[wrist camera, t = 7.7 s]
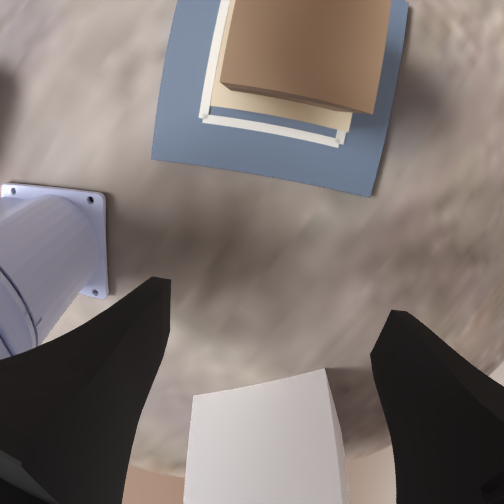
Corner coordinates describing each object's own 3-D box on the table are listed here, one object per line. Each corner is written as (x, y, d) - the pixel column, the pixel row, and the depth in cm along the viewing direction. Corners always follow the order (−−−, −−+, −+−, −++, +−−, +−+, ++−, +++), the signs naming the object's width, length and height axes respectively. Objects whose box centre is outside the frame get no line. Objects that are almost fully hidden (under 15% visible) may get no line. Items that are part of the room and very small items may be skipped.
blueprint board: (154, 157, 18) (150, 159, 17) (191, -40, 12) (189, -45, 11) (366, 195, 19) (370, 198, 18) (404, 4, 13) (409, 2, 12)
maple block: (220, 106, 16) (210, 105, 12) (238, 7, 13) (234, -19, 10) (328, 126, 16) (348, 132, 13) (346, 29, 14) (370, 12, 10)
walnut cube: (230, 90, 12) (219, 82, 8) (249, -3, 10) (246, -48, 6) (336, 111, 12) (372, 114, 8) (352, 19, 10) (392, -12, 6)
